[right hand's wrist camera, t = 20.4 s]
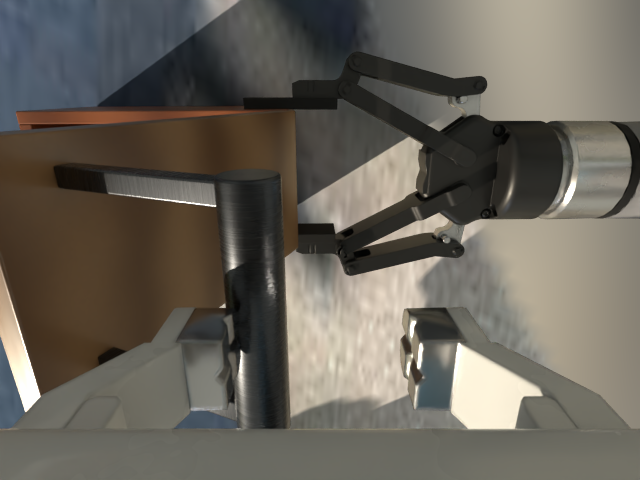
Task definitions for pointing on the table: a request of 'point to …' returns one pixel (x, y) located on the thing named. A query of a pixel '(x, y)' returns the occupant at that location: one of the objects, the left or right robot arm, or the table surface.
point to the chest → (119, 115)
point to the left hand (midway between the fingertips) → (250, 172)
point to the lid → (148, 245)
